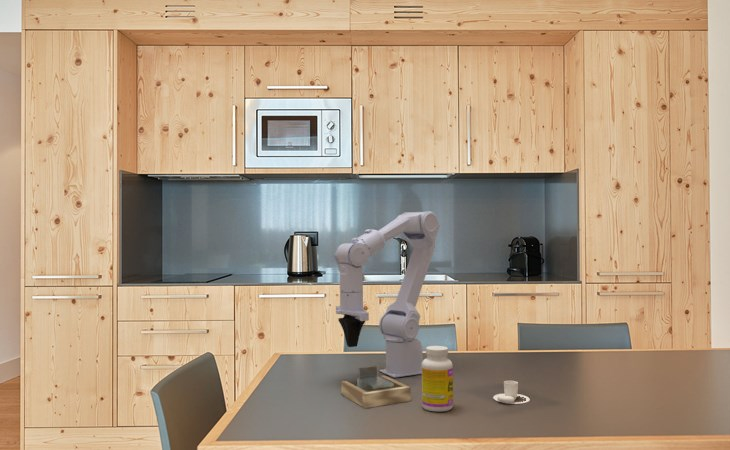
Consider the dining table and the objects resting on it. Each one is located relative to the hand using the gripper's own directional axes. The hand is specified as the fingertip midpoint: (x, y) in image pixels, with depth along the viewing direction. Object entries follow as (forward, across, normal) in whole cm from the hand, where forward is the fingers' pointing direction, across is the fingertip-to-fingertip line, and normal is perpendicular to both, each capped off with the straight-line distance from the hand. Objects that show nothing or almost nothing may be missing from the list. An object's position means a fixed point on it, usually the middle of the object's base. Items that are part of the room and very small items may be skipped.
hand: (352, 346), depth 145 cm
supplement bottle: (+10, +26, +7) cm, 29 cm away
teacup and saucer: (+10, +27, +23) cm, 37 cm away
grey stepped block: (+9, +13, -1) cm, 16 cm away
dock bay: (+9, +12, -1) cm, 15 cm away
